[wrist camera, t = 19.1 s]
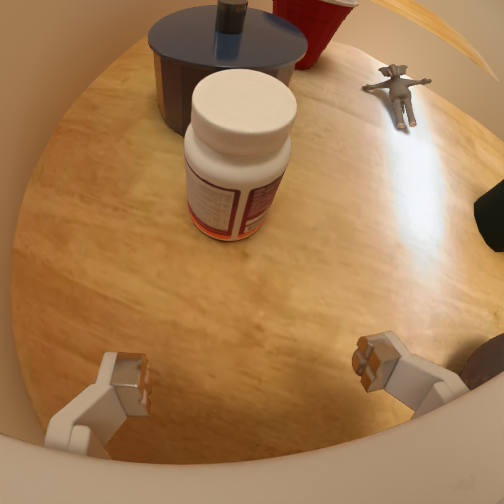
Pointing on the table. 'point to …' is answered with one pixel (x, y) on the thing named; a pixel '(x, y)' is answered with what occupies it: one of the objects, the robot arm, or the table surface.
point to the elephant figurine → (399, 92)
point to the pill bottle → (236, 150)
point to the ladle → (484, 363)
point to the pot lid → (227, 38)
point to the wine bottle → (491, 217)
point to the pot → (189, 89)
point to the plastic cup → (314, 22)
